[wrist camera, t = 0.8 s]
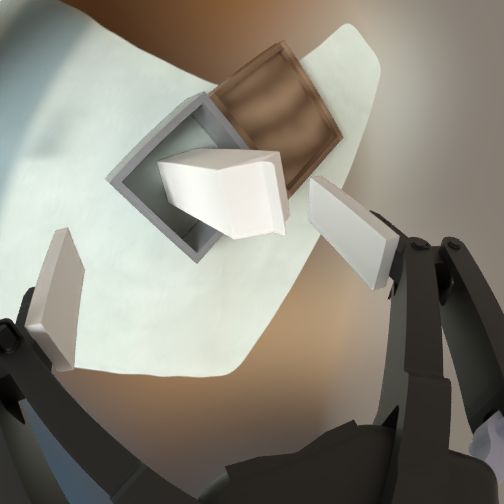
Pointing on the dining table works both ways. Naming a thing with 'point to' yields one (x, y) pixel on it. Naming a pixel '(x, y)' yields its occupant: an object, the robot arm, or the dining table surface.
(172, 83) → the dining table surface
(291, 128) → the tray
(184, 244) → the box
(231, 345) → the dining table surface
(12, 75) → the dining table surface
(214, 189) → the milk
